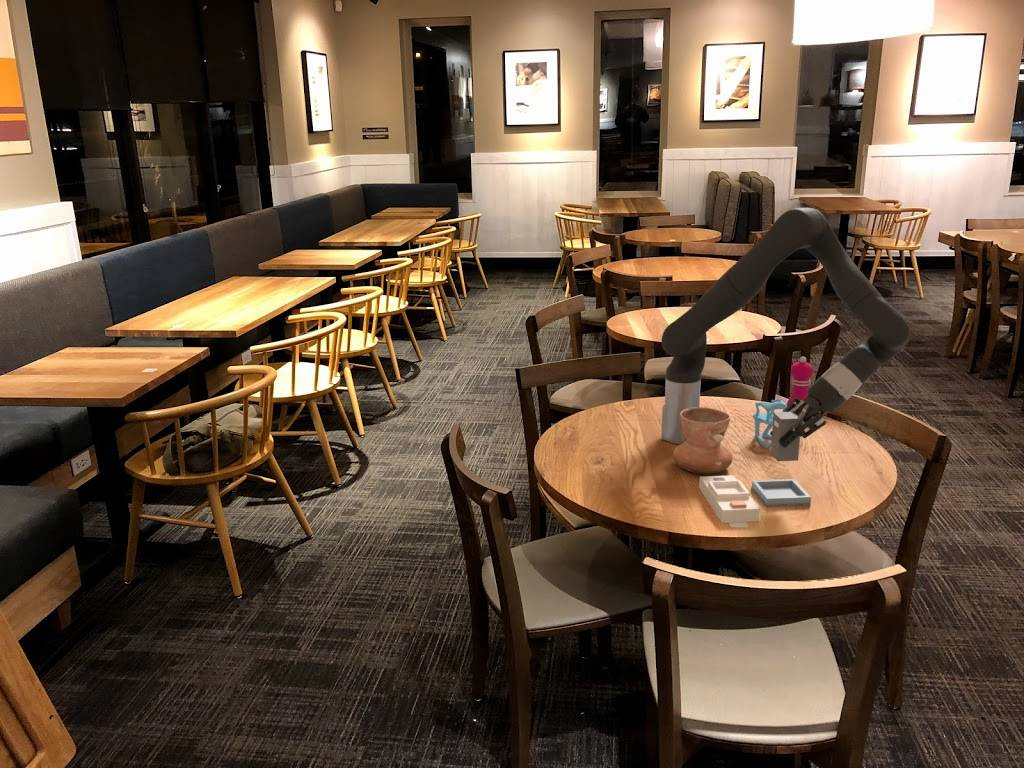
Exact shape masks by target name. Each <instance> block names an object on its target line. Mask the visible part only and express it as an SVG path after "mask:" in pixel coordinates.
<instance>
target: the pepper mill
mask: <svg viewBox="0 0 1024 768" xmlns="http://www.w3.org/2000/svg"><path fill="white" fill-rule="evenodd" d="M790 374H791V376H792V378H791V384H792V392H791V394H790V397H789V398H788V400H787V402H786V403H785V404H786V405H787V406H788V405H789V404H790V403H791V402H792V400H793V399H794V398H795V397H797V398H798V399H799V400H803V399H804V398H806V397H807V396H809V393H808V392H807V389H808V388H809V387H810V386H811V382H812V381H811V378H812V376H813V375H814V367H813V366H812V364H810V363H809V362H808V361H807V358H806V357H805V356H800V357H799V361H796V362H795V363H793V364H792V366H791V368H790Z"/></svg>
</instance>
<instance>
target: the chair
mask: <svg viewBox="0 0 1024 768" xmlns="http://www.w3.org/2000/svg"><path fill="white" fill-rule="evenodd" d="M754 403H755V404H754V405H755V407H756V409H755V410H756V412H755V413H753V414H752V418H753V420H754V432H755V433H754V438H755V439H756V440H757V442H758V443H759V444H760V445H761V446H762V447H763V448H764V449H767V448H771V443H769V442H768V443H766V442H765V441H764V439H763V437H764V438H767V439H769V440H772V435H771V434H770V431H771V428H772V427H773V413H774V412H775V410H782V411H781V412H783V411H784V410H785V409H786V408H787V405H786V404H787V403H785V401H784V400H781V399H771V402H770V403H769V402H766V401H760V402H754ZM760 407H762V408H763V409H764V410H765V411H766V412H763V413H760ZM761 423H762V424H765V425H767V426H766V428H765V429H764V431H763V432H762V436H761V435H760V424H761Z"/></svg>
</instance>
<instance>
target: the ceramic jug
mask: <svg viewBox="0 0 1024 768" xmlns="http://www.w3.org/2000/svg"><path fill="white" fill-rule="evenodd" d="M680 421H681V426H682V432H683V438H684V443H682V444H678V445H677V446H676V447H675V449H674V450H673V453H672V457H673V458H672V459H673V460H674V462H675V464H676V465H677V466H679V468H681V469H683V470H684V471H687V472H691V473H695V474H703V475H705V474H706V475H710V474H715V473H721V472H722V471H725V470H727V469H728V468H729V467H730V466H731V464H732V462H733V459H734V458H733V454H732V452H731V451H730V450H729V449H728V448H727V447H726V446H725V445H723V444H722V443H721V442H722V441H723V440H724V439H725V438H724V437H725V435H726V432H727V431H728V428H729V425H730V423H731V422H730V421H731V416H730V414H729V413H727V412H726V411H724V410H723V411H722V410H719V409H716V408H711V407H710V408H709V407H705V406H704V407H703V406H699V407H692V408H688V409H684V410H682V411H681V412H680Z"/></svg>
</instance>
